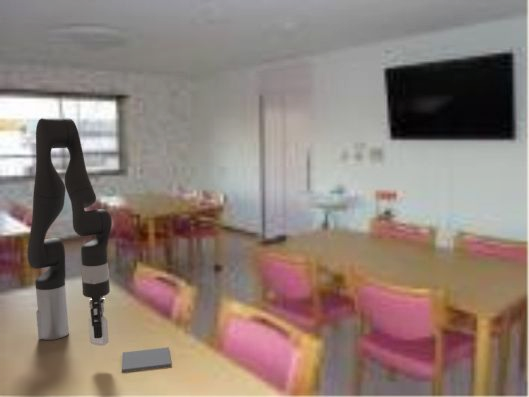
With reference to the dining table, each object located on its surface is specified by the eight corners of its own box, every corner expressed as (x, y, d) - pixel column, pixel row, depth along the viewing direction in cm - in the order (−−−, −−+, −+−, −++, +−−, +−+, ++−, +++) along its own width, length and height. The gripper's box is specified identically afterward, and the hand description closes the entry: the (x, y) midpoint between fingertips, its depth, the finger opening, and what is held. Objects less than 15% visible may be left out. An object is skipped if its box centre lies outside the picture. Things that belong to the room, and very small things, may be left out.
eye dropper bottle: (95, 348, 154) (93, 308, 152) (88, 341, 159) (86, 303, 157) (110, 344, 157) (107, 305, 155) (103, 338, 161) (101, 300, 159)
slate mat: (121, 372, 153) (121, 369, 153) (122, 354, 165) (122, 352, 164) (171, 366, 156) (171, 363, 156) (168, 349, 168) (168, 347, 168)
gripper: (84, 272, 161) (87, 326, 163) (79, 286, 147) (83, 345, 150) (110, 270, 162) (113, 324, 165) (107, 284, 149) (110, 342, 151)
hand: (98, 333), depth 157 cm, fingers closed on eye dropper bottle, 4 cm apart
